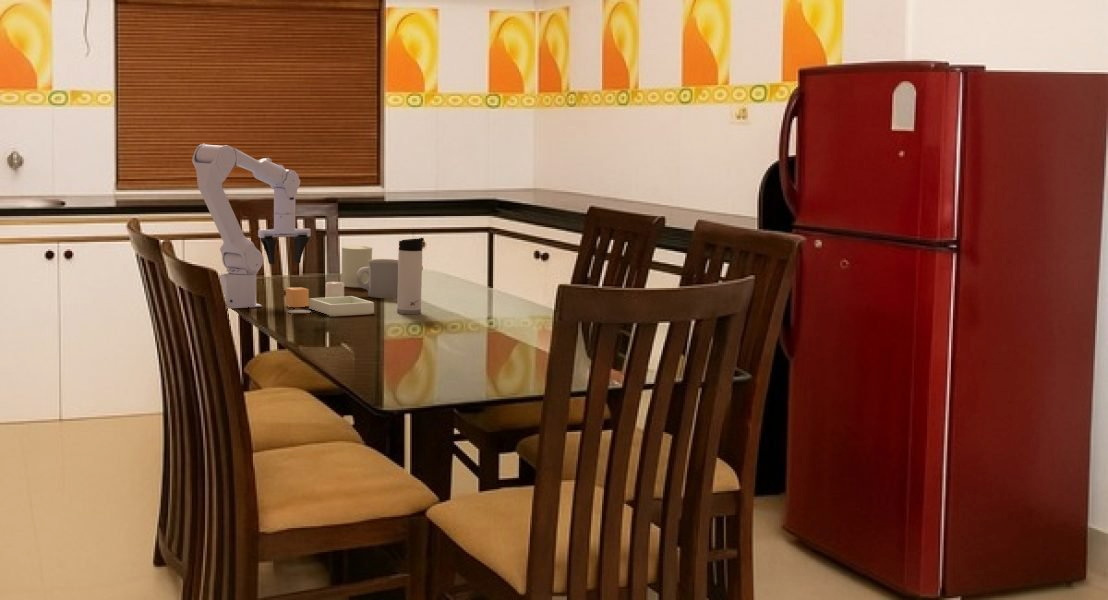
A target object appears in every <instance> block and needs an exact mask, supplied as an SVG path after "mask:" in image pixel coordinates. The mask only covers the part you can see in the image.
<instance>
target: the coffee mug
mask: <svg viewBox="0 0 1108 600" xmlns="http://www.w3.org/2000/svg"><path fill="white" fill-rule="evenodd" d="M368 265H369V267H363V268H360V269H359V270H358V272H357V275H356V280H357V283H358V285H359V286H360V287H359V288H362V289H364V290H365V291H367V296H368V297H371V298H376V299H377V298H379V299H396V298H397V297H398V259H391V258H386V259H385V258H382V259H381V258H379V259H378V258H377V259H375V258H374V259H373V258H372V260H369V261H368ZM364 272H367V274H368V280H367V282H366V283H363V282H362V281H361V276H362V274H363V273H364Z"/></svg>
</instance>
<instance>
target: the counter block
mask: <svg viewBox="0 0 1108 600" xmlns="http://www.w3.org/2000/svg"><path fill="white" fill-rule="evenodd" d="M309 291H310V289H309V288H305V287H300V286H299V287H285V306H286V305H289V306H292V307H305V306H309V298H310V297H309V296H310V295H309V294H310V293H309Z"/></svg>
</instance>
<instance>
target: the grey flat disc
mask: <svg viewBox="0 0 1108 600" xmlns="http://www.w3.org/2000/svg"><path fill="white" fill-rule="evenodd" d="M288 312H289V313H310V312H311V313H312V311H311V310H309V309H291V310H287V313H288Z"/></svg>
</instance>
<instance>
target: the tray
mask: <svg viewBox="0 0 1108 600" xmlns="http://www.w3.org/2000/svg"><path fill="white" fill-rule="evenodd" d="M309 309H312V310H315V311H318V312H321V313H324V314H327V315H329V316H328V317H341V316H343V317H346V316H358V315H359V316H361V315H362V316H363V315H372V314H373V315H374V314H375V302H373V301H370V300H366V299H363V298H359V297H357V296H353V295H349V296H347V295H346V296H345V295H344V297H326V298H325V297H309V308H308V310H309ZM315 311H314V312H315ZM318 312H317V313H318ZM321 313H320V314H321ZM324 314H323V315H324ZM327 315H326V316H327Z"/></svg>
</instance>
